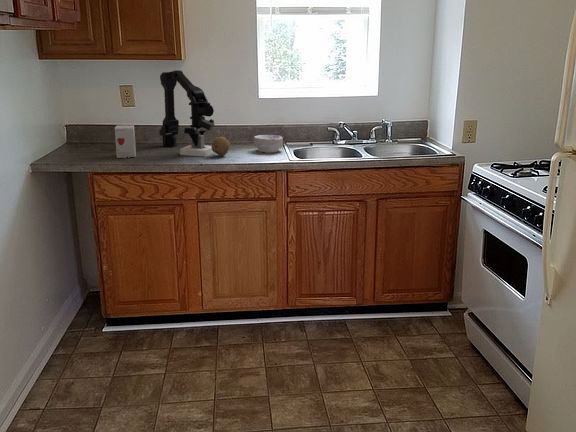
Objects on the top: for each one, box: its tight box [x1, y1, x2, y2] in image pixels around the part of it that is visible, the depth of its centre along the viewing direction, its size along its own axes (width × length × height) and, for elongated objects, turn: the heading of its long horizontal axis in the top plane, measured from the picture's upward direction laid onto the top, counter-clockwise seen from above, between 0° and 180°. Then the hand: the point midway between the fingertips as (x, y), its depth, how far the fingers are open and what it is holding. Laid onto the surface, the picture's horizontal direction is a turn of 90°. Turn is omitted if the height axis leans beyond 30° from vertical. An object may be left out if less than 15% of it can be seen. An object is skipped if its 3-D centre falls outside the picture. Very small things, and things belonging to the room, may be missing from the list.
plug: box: [191, 134, 205, 149], centre depth 285 cm, size 5×4×6 cm
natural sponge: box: [211, 136, 231, 157], centre depth 279 cm, size 9×9×10 cm
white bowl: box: [253, 134, 284, 154], centre depth 293 cm, size 15×15×8 cm
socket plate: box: [179, 143, 216, 157], centre depth 287 cm, size 14×14×4 cm
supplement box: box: [114, 124, 137, 159], centre depth 276 cm, size 9×9×15 cm
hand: (198, 145), depth 286 cm, fingers closed on plug, 4 cm apart
